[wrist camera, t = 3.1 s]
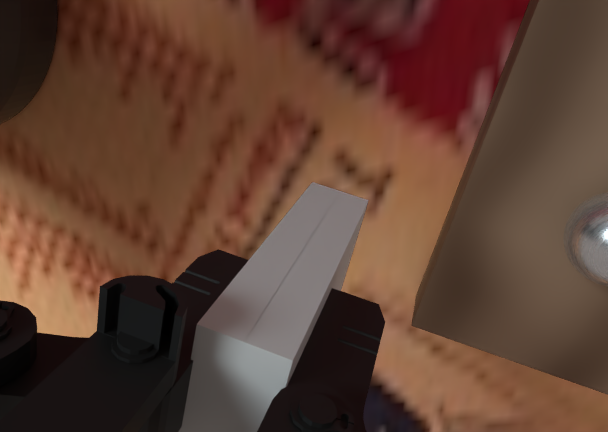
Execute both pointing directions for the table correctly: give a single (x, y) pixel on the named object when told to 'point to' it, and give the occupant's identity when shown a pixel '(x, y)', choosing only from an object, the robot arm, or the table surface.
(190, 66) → the table surface
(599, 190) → the deck
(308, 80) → the table surface
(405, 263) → the table surface
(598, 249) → the ball
